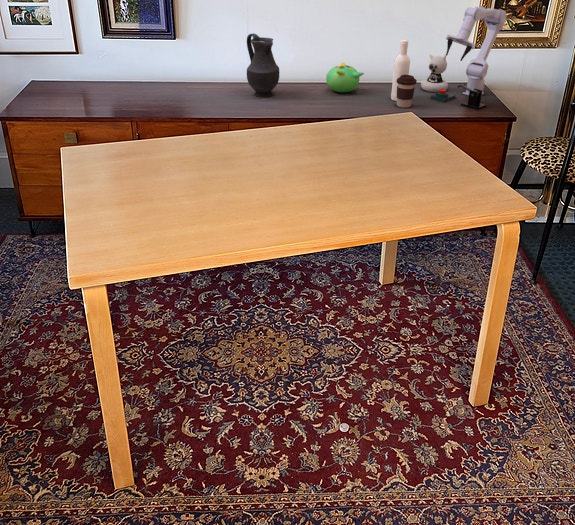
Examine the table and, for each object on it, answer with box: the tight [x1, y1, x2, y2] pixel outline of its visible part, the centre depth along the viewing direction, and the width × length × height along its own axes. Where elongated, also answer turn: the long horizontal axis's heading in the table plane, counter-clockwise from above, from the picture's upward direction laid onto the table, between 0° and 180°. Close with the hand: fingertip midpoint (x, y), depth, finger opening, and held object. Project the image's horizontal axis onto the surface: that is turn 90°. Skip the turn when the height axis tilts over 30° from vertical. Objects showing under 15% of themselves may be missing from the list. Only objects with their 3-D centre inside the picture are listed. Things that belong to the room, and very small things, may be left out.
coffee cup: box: [396, 74, 418, 109], centre depth 321 cm, size 10×10×15 cm
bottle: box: [390, 39, 411, 102], centre depth 327 cm, size 8×8×30 cm
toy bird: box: [325, 62, 365, 93], centre depth 341 cm, size 18×17×15 cm
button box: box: [430, 91, 456, 103], centre depth 336 cm, size 11×8×4 cm
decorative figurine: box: [420, 54, 449, 93], centre depth 346 cm, size 15×15×20 cm
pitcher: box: [246, 32, 280, 98], centre depth 331 cm, size 17×21×30 cm
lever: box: [457, 83, 480, 97], centre depth 325 cm, size 11×6×2 cm, turn 44°
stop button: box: [439, 89, 447, 94], centre depth 334 cm, size 4×4×2 cm
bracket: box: [460, 89, 487, 111], centre depth 324 cm, size 10×8×8 cm
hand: (453, 57), depth 316 cm, fingers open, 7 cm apart
